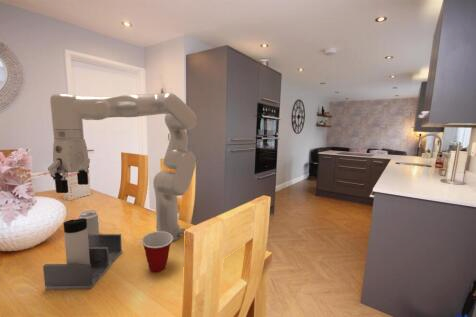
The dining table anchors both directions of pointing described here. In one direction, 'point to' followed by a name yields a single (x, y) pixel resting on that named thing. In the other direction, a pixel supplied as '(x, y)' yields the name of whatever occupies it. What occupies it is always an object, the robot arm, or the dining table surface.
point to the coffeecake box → (76, 187)
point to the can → (91, 221)
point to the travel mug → (76, 241)
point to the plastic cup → (157, 249)
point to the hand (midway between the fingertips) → (73, 188)
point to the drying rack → (85, 275)
